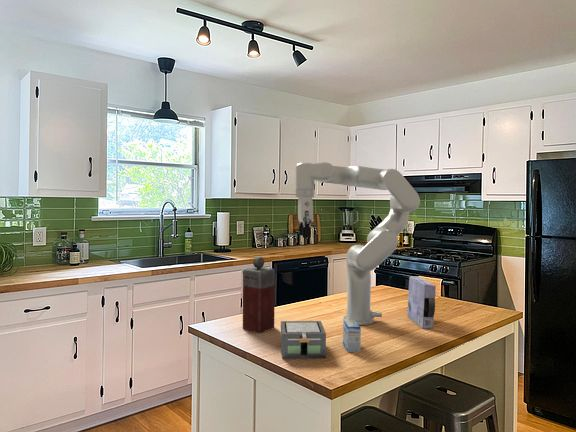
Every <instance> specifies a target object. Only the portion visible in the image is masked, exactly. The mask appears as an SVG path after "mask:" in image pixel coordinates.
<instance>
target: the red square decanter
mask: <svg viewBox="0 0 576 432" xmlns="http://www.w3.org/2000/svg"><path fill="white" fill-rule="evenodd" d="M252 263H253V267H249V268H245V269H244V268H243V270H242V330H245V331H249V332H254V333H258V334H262V333H264V332H267V331H270V330H273V329H275V300H276V299H275V290H276V289H275V283H276V282H275V281H276V280H275V279H276V278H275V277H276V275H275V269H274V268H271V267H264V266H265V259H264V258H263V257H262V256H255V257H254V259H253V262H252Z"/></svg>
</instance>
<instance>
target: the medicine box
mask: <svg viewBox="0 0 576 432" xmlns="http://www.w3.org/2000/svg"><path fill="white" fill-rule="evenodd" d="M342 325H343V327H342V345H343V347H344V348H345V350H346V351H347V353H360V352H361V343H362V342H361V338H362V337H361V334H362V329H361V325H358V323H357V322H356V321H355V320H344V321H343V324H342Z"/></svg>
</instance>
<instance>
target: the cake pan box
mask: <svg viewBox="0 0 576 432" xmlns="http://www.w3.org/2000/svg"><path fill="white" fill-rule="evenodd" d="M408 279H409V281H408V294H407V296H408V297H407V314H406V316H407V317H408V318H409V319H410V320H411V321H412V322H413V323H415V324H416V325H418V326H419V328H421V329H422V330H434V321H435V320H434V316H435V314H436V313H435V312H436V288H437V287H436V285H435V284H433V283H431V282H429V281H428V280H425V279H424V278H422V277H420V276H413V275H412V276H411V275H410V276H409V277H408Z"/></svg>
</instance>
